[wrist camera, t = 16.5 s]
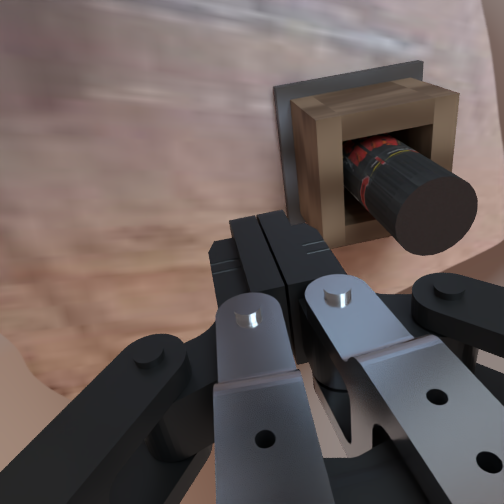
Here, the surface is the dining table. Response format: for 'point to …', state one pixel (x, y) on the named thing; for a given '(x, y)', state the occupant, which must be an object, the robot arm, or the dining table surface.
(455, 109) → the sleeve holder
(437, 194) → the deodorant
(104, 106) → the dining table surface
